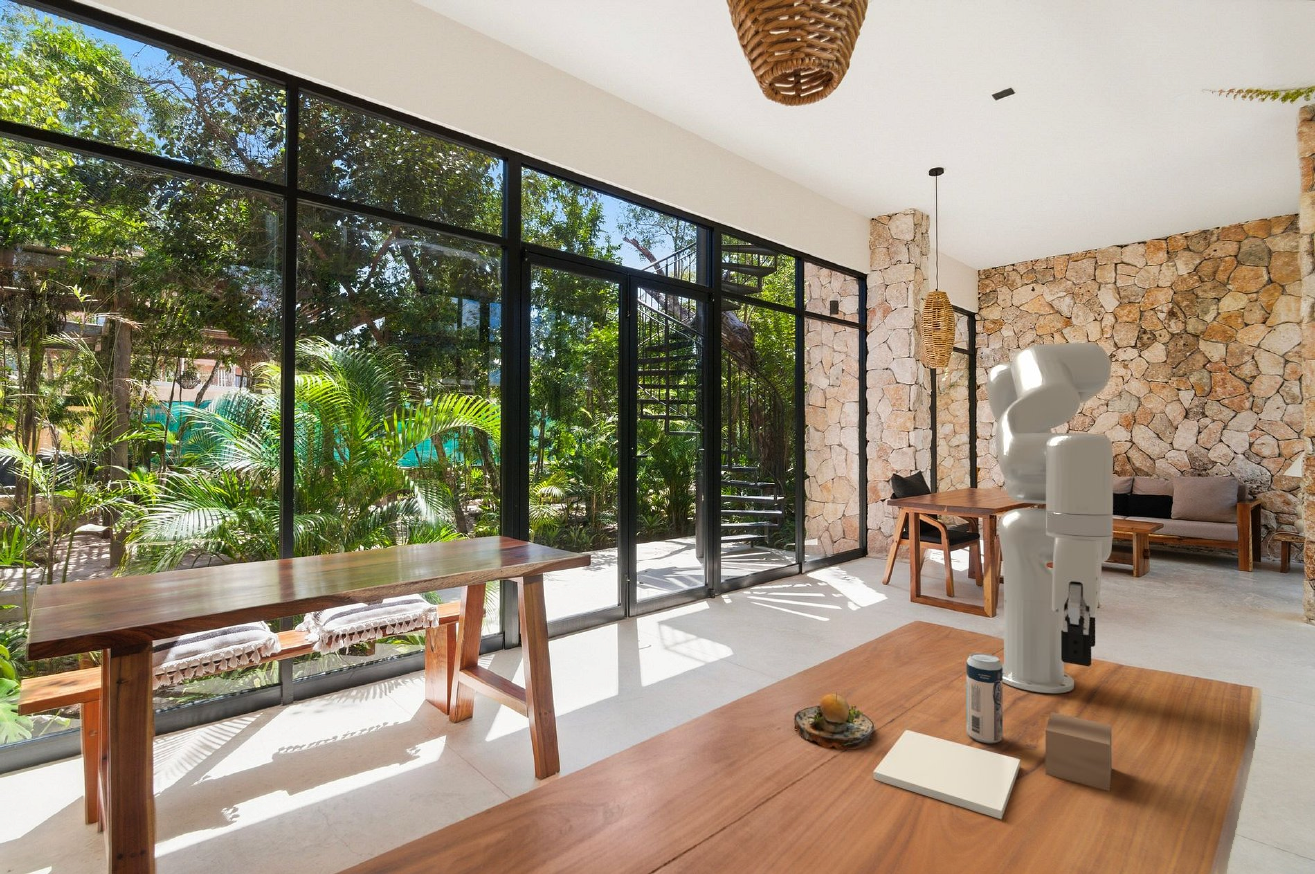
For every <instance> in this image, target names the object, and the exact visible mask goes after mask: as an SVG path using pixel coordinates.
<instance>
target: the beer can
mask: <svg viewBox="0 0 1315 874" xmlns="http://www.w3.org/2000/svg"><path fill="white" fill-rule="evenodd" d="M1001 664H1002V662H1001V660H1000V659H999V658H998V656H995V655H992V654H991V653H990V654H989V653H982V652H976V653H975V652H973V653H971V654H969V657H968V658H967V659H966V733H967V735H968V736H969V737H971V738H972V739H973V740H974V741H977V742H980V743H984V744H996V743H999V742H1001V741H1002V740H1003V736H1004V735H1003V733H1004V732H1003V731H1004V729H1003V721H1004V720H1003V719H1004V718H1003V712H1004V710H1003V706H1004V705H1003V703H1004V701H1003V700H1004V699H1003V694H1004V693H1003V690H1004V689H1003V688H1004V686H1003V685H1004V684H1003V683H1004V682H1003V666H1002V665H1001Z"/></svg>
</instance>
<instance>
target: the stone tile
mask: <svg viewBox="0 0 1315 874" xmlns="http://www.w3.org/2000/svg"><path fill="white" fill-rule="evenodd" d="M1020 769H1021V759H1019V758H1017V757H1012V756H1009V755H1004V754H999V753H996V752H992V751H990V750H986V749H981V748H977V747H975V746H970V745H966V744H963V743H958V742H955V741H952V740H951V741H950V740H946V739H943V738H939V737H935V736H932V735H928V734H924V733H921V732H920V733H919V732H916V731H913V730H908V729H905V731H903V733H902V734H901V735H900V737H899V738H898V739H897V741H896V742H895V743H894V744H893V746H892V747H891V748H890V750H889V751H888V752H887V753H886V755H885V756H884V757H883V759H882V760H881V761H880V763H878V765H877V766H876V768H875V769H874V770H873V778H872V779H873V780H875V781H878V782H880V783H884V784H888V785H891V786H894V787H897V788H900V789H904V790H907V791H910V792H914V793H917V794H920V795H923V796H926V797H929V798H932V799H935V800H939V801H941V802H944V803H947V804H948V803H949V804H952V805H955V806H958V807H961V808H964V809H966V810H970V811H973V812H977V813H979V814H984V815H986V816H989V817H993V818H995V819H999V820H1003V816H1004V814H1005V811H1006V808H1007V804H1008V802H1009V800H1010V797H1011V793H1012V790H1013V788H1014V785H1015V781H1016V780H1017V776H1018V773H1019V771H1020Z"/></svg>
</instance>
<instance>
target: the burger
mask: <svg viewBox="0 0 1315 874" xmlns="http://www.w3.org/2000/svg"><path fill="white" fill-rule="evenodd" d="M850 707H851V708H850ZM856 709H857V705H851V706H850V705H849V703H848V701H847V699H845V698H844V697H843V696H841V695H838V694H837V693H836V694H834V693H829V694H826V695H824V696H823V697H822V698H821V699H820V703H819V705H815V706H811V707H806V708H804V709H800V710H798V711H796V713H795V714H794V719H793V720H794V721H793V722H794V723H793V724H795V725H794V726H795V727H794V730H795V729H797V730H796V731H797V734H798V736H799V737H800V736H802V737H801V738H803V739H804V740H805V739H806V740H809V741H810V742H812V741H814V742H817V744H818V745H819V746H820V745H821V746H820V747H825V748H831V747H835V748H836V750H837V749H847V750H855V749H859V748H863V747H866V746H869V745H871V743H872V742H873V741H874V740H873V732H874V730H875V725H874V723H873V721H872V719H871V718H869V717H868V716H867V715H865V714H863V711H862V710H861V711H860V710H856Z"/></svg>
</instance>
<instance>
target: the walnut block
mask: <svg viewBox="0 0 1315 874" xmlns="http://www.w3.org/2000/svg"><path fill="white" fill-rule="evenodd" d="M1112 743H1113V742H1112V724H1108V723H1105V722H1099V721H1096V720H1090V719H1085V718H1081V717H1078V716H1077V717H1075V716H1073V715H1067V714H1061V713H1057V712H1054V711H1051V712H1050V715H1049V717H1048V721H1047V724H1046V727H1045V775H1048V776H1051V777H1055V778H1060V779H1063V780H1067V781H1070V782H1074V783H1076V784H1082V785H1085V786H1089V787H1092V788H1096V789H1099V790H1104V791H1108V792H1110V791H1111V779H1112V769H1113V768H1112V767H1113V766H1112V753H1113V752H1112Z"/></svg>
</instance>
